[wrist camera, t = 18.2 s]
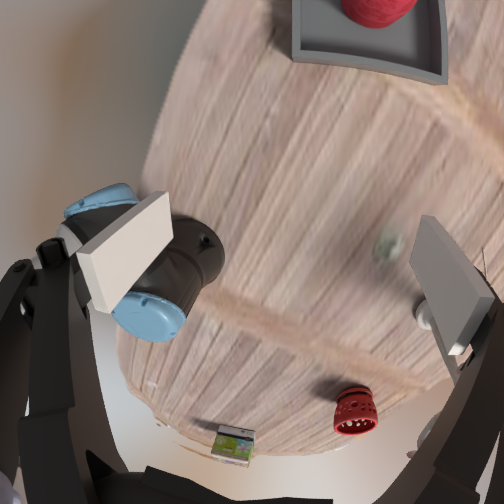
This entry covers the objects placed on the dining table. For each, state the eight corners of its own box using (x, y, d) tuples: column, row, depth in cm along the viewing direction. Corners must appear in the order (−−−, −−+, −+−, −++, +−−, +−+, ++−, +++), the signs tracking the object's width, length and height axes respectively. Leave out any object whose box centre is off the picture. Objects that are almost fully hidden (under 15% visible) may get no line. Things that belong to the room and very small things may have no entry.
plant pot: (326, 399, 80) (324, 431, 70) (351, 379, 74) (352, 414, 63) (357, 408, 81) (358, 439, 71) (384, 389, 74) (387, 422, 64)
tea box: (255, 430, 100) (248, 461, 87) (255, 439, 105) (248, 468, 92) (219, 423, 102) (210, 453, 90) (221, 432, 107) (212, 461, 95)
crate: (293, 62, 39) (291, 56, 34) (292, -51, 27) (290, -65, 22) (433, 85, 35) (447, 84, 30) (426, -27, 23) (438, -38, 18)
